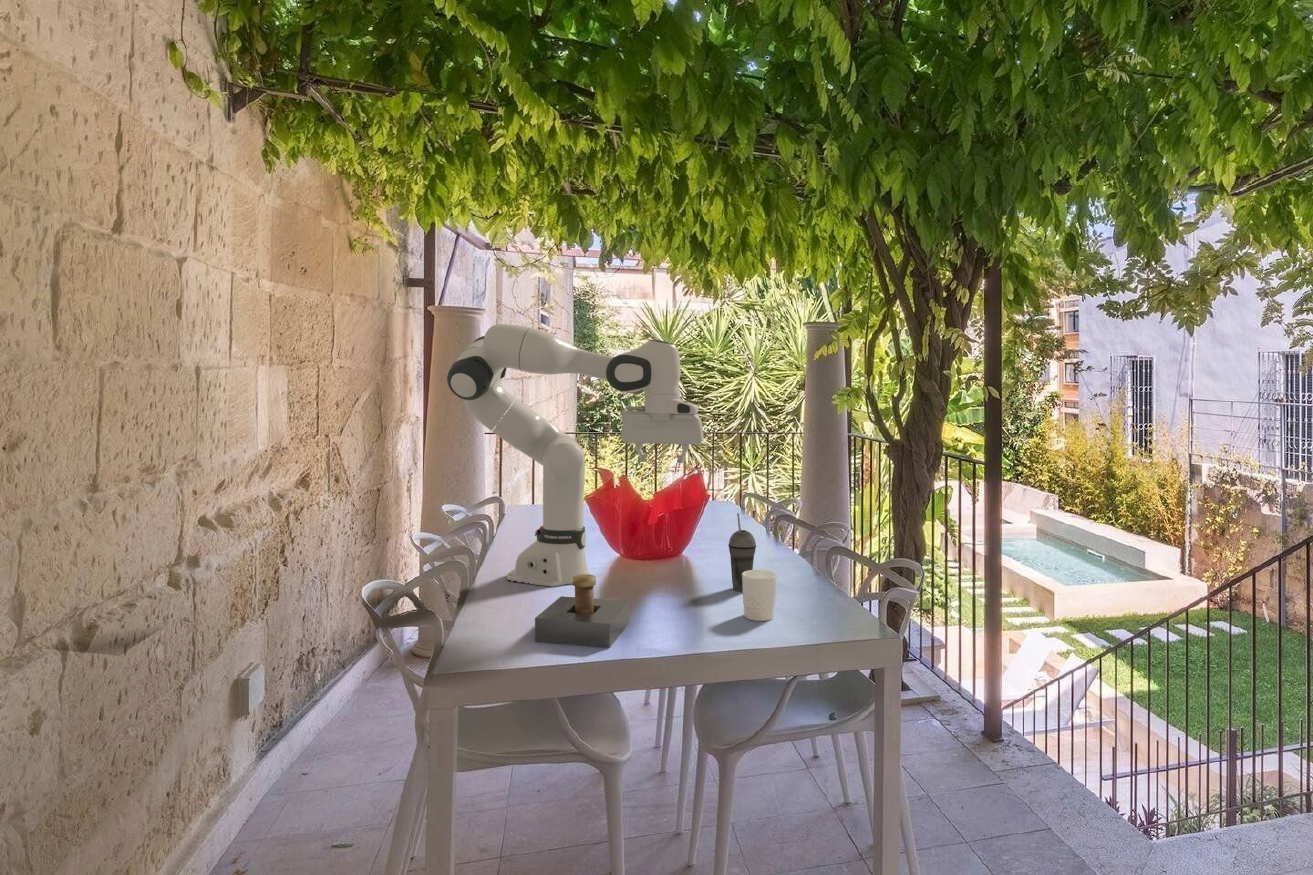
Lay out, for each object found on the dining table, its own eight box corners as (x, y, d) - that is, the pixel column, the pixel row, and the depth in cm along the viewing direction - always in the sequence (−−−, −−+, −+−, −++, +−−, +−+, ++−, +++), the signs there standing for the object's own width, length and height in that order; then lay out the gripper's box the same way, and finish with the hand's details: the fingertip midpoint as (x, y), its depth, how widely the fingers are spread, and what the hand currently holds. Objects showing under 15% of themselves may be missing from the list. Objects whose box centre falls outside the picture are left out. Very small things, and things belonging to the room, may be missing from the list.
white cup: (738, 611, 171) (739, 570, 170) (771, 611, 172) (772, 569, 171) (745, 622, 163) (745, 578, 162) (779, 621, 164) (780, 578, 163)
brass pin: (569, 635, 154) (569, 579, 154) (576, 627, 159) (576, 573, 158) (592, 636, 153) (592, 580, 153) (598, 629, 158) (598, 574, 157)
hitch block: (535, 641, 150) (534, 617, 150) (561, 617, 166) (561, 596, 165) (609, 647, 147) (609, 623, 147) (629, 622, 162) (629, 600, 162)
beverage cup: (754, 593, 186) (755, 516, 184) (726, 592, 187) (727, 515, 186) (756, 586, 193) (757, 511, 192) (729, 584, 194) (730, 510, 193)
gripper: (618, 406, 178) (618, 462, 179) (700, 407, 174) (700, 464, 175) (624, 405, 184) (624, 459, 185) (704, 406, 180) (704, 461, 181)
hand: (662, 462), depth 180 cm, fingers open, 8 cm apart
